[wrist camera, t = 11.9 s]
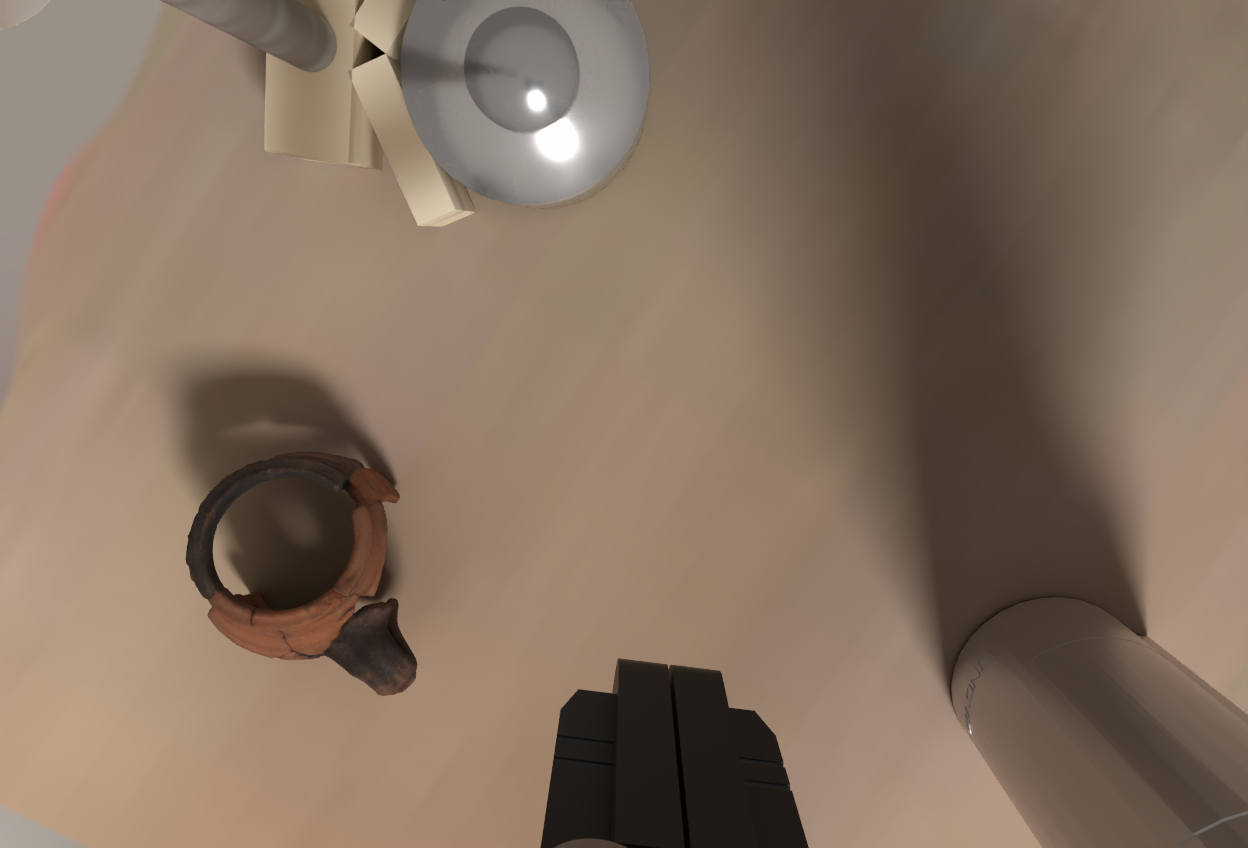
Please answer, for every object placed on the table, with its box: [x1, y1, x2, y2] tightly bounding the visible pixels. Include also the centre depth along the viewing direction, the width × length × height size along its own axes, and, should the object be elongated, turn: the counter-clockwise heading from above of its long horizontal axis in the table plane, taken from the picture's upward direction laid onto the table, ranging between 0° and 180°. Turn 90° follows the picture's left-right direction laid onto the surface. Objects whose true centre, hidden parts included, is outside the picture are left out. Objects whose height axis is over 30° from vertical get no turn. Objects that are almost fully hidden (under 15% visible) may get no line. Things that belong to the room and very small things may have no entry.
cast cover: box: [401, 0, 650, 209], centre depth 30 cm, size 9×9×6 cm
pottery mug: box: [186, 452, 417, 696], centre depth 35 cm, size 12×10×8 cm
